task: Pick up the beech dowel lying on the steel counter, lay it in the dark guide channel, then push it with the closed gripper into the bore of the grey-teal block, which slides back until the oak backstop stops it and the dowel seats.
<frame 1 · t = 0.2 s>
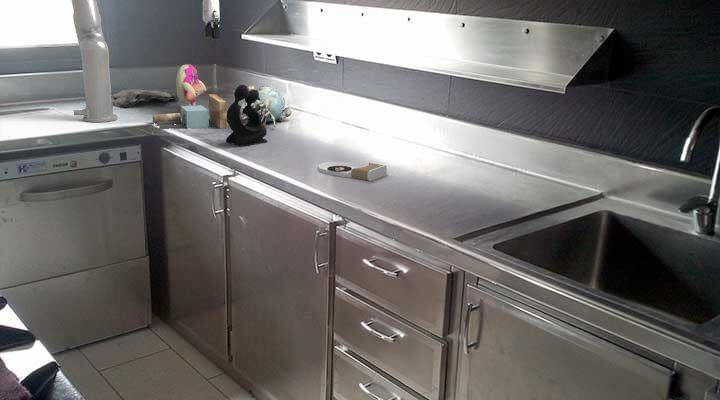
hand: (212, 37, 277), 31 cm above the worktop, fingers open, 9 cm apart
dowel: (167, 123, 266), on the worktop
guide rails: (170, 126, 259), on the worktop
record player: (349, 173, 206), on the worktop
toy: (192, 113, 286), on the worktop
block: (194, 116, 262), point 3 cm above the worktop, slide at 0.0 cm
backstop: (217, 123, 267), on the worktop
stone fragment: (147, 104, 305), on the worktop
sculpture: (265, 124, 269), on the worktop
figurine: (247, 143, 238), on the worktop
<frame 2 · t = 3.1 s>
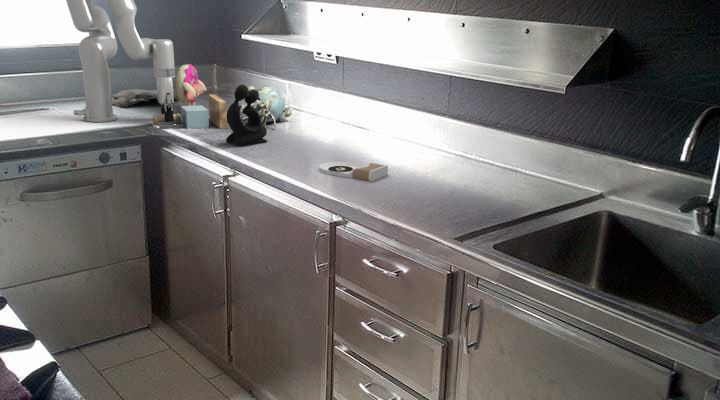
hand: (167, 119, 266), 1 cm above the worktop, fingers open, 7 cm apart
dowel: (167, 122, 266), on the worktop, tilted 33°
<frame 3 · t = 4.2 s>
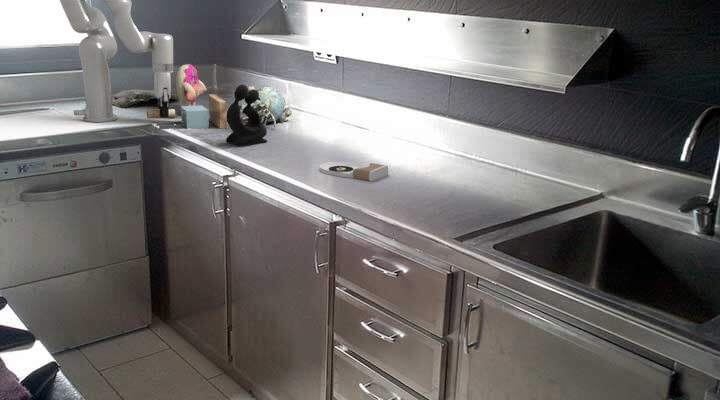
hand: (163, 115, 266), 3 cm above the worktop, fingers closed on dowel, 3 cm apart
dowel: (160, 116, 267), point 2 cm above the worktop, tilted 45°, touching gripper
everything else where it was.
when the fingers open (2 cm above the worktop, at t = 7.8 s): dowel stays where it is, on the worktop.
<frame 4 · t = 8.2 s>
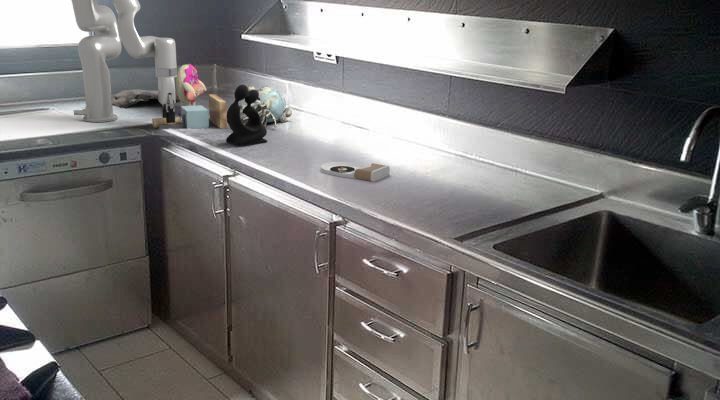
hand: (168, 120, 258), 2 cm above the worktop, fingers open, 7 cm apart
dowel: (166, 125, 260), on the worktop, tilted 41°
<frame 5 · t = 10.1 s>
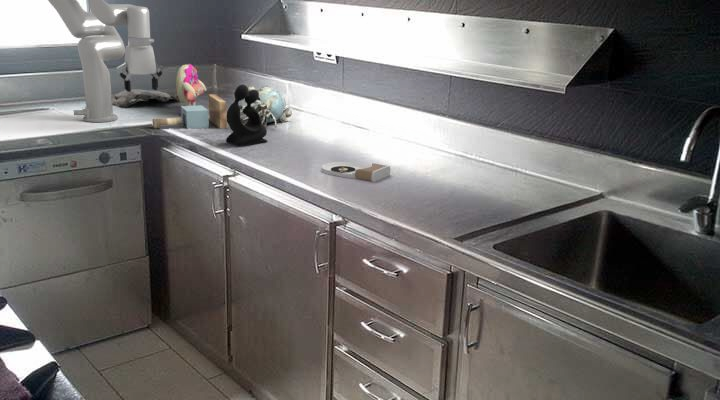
hand: (141, 90, 252), 14 cm above the worktop, fingers open, 9 cm apart
dowel: (166, 123, 259), point 1 cm above the worktop, tilted 69°
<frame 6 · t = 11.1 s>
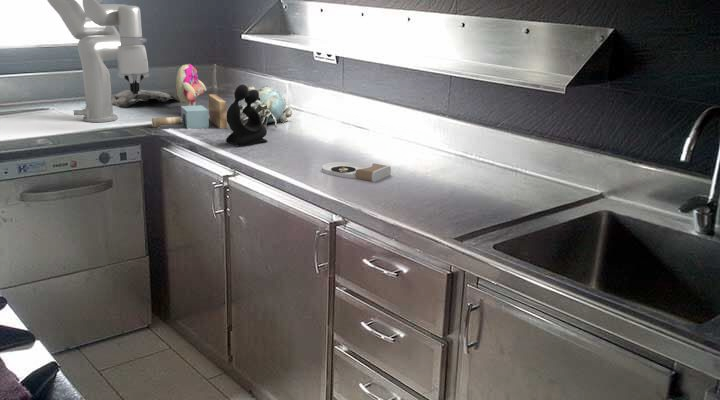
hand: (135, 93, 251), 13 cm above the worktop, fingers closed
dowel: (166, 126, 260), on the worktop, tilted 26°
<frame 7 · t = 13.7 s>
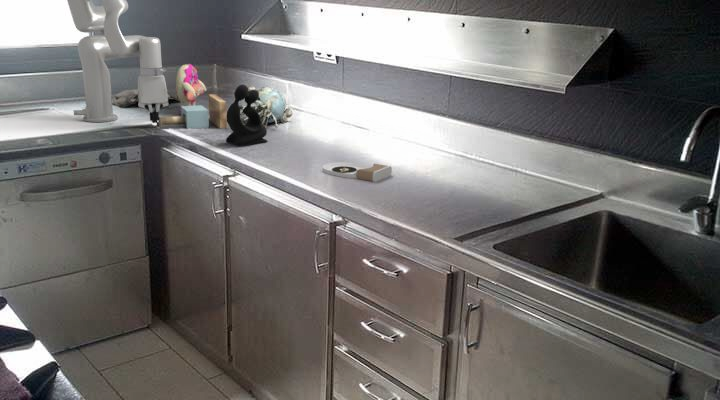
hand: (154, 122, 256), 2 cm above the worktop, fingers closed
dowel: (172, 125, 261), on the worktop, tilted 27°, touching gripper
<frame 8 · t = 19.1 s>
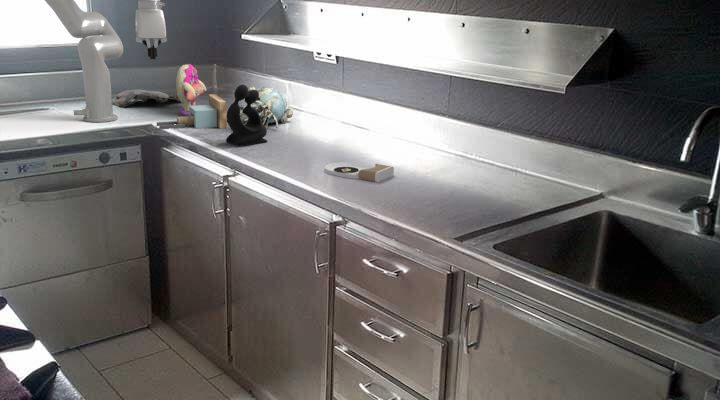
hand: (152, 58, 250), 25 cm above the worktop, fingers closed
dowel: (190, 124, 264), on the worktop, tilted 36°
block: (203, 116, 263), point 3 cm above the worktop, slide at 3.1 cm
at the end: dowel 1.8 cm from the target spot on the worktop beside the block, on the worktop; block slide at 3.1 cm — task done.
